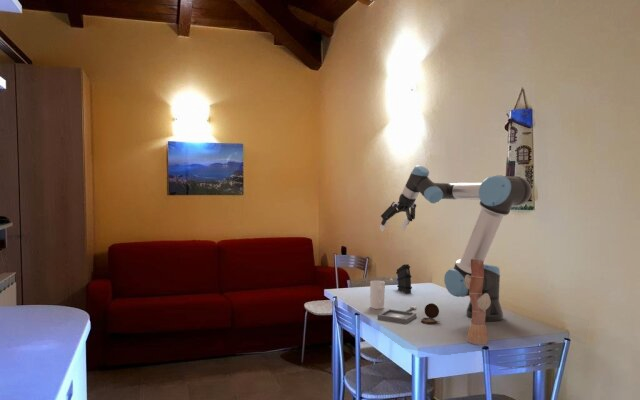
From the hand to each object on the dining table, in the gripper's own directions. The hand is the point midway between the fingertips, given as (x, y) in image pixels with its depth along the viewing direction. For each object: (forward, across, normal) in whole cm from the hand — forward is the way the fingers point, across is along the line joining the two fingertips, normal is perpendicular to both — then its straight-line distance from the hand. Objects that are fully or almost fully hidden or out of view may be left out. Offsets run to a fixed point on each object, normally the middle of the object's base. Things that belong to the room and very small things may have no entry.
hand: (391, 229), depth 244 cm
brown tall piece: (-10, +17, +77) cm, 80 cm away
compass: (+5, +13, +55) cm, 57 cm away
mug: (+22, +18, +31) cm, 42 cm away
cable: (+15, +10, +40) cm, 44 cm away
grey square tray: (+11, +22, +46) cm, 52 cm away
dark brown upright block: (+36, -20, +10) cm, 42 cm away
